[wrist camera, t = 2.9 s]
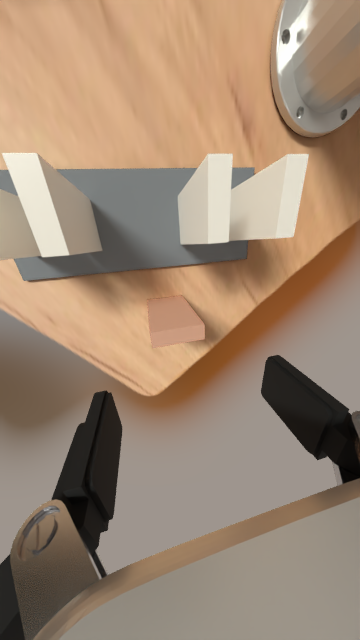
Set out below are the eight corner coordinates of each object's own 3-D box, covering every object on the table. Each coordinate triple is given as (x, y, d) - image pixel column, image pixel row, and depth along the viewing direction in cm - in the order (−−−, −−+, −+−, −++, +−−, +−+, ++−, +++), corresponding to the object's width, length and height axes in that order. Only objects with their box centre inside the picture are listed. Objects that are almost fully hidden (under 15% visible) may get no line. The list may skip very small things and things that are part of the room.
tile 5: (235, 194, 20) (309, 154, 11) (233, 240, 22) (293, 236, 13) (222, 194, 20) (287, 153, 11) (221, 241, 22) (275, 238, 13)
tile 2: (90, 199, 18) (36, 153, 9) (102, 250, 20) (69, 255, 11) (73, 200, 18) (1, 153, 9) (88, 251, 20) (42, 257, 11)
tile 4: (191, 196, 19) (232, 153, 11) (192, 243, 22) (228, 242, 13) (177, 196, 19) (208, 153, 10) (180, 244, 21) (208, 243, 12)
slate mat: (252, 168, 20) (254, 167, 20) (244, 258, 24) (246, 258, 24) (-23, 172, 16) (-27, 170, 15) (25, 280, 20) (23, 280, 20)
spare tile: (147, 299, 24) (149, 332, 15) (181, 295, 24) (204, 324, 15) (148, 310, 24) (152, 348, 15) (182, 305, 25) (204, 339, 16)
